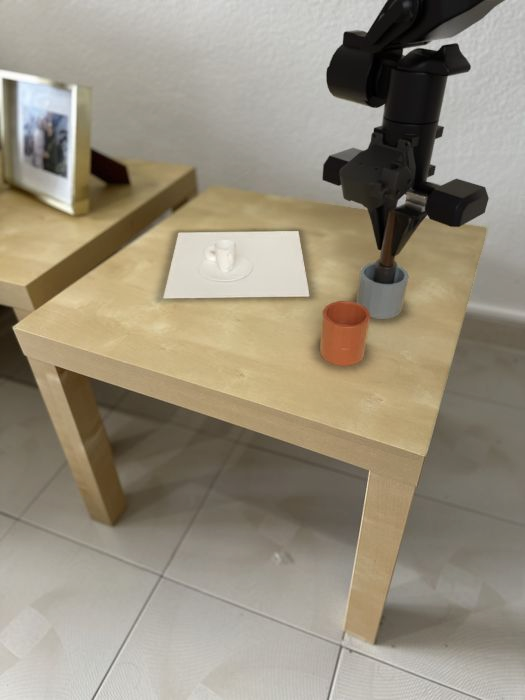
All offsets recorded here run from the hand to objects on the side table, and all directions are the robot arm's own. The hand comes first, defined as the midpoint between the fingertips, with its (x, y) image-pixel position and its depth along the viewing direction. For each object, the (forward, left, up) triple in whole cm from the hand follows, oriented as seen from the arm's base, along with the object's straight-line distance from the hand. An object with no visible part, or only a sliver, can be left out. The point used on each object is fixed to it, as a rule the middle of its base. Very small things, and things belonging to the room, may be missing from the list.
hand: (388, 251), depth 63 cm
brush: (0, 0, -6) cm, 6 cm away
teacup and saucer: (+22, +6, -8) cm, 24 cm away
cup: (0, 0, -8) cm, 8 cm away
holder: (-3, +11, -8) cm, 14 cm away
